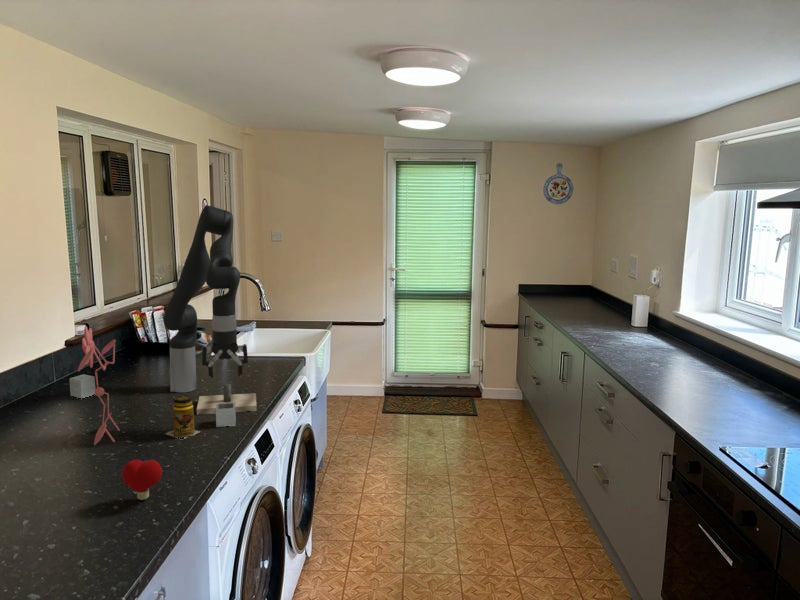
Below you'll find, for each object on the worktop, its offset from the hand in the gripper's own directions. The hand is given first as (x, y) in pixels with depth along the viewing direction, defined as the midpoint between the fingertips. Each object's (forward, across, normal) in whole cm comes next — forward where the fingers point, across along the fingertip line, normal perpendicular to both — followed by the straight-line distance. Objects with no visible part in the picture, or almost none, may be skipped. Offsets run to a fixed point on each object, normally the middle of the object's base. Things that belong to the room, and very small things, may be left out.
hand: (225, 376), depth 188 cm
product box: (+16, +52, -38) cm, 67 cm away
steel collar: (+16, 0, 0) cm, 16 cm away
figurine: (+16, +39, +5) cm, 43 cm away
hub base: (+16, 0, -17) cm, 23 cm away
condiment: (+16, +13, +6) cm, 22 cm away
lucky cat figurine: (+16, +18, -98) cm, 101 cm away
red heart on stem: (+16, +18, +48) cm, 54 cm away
